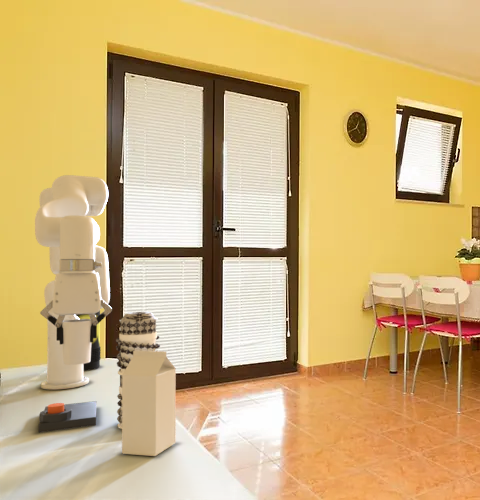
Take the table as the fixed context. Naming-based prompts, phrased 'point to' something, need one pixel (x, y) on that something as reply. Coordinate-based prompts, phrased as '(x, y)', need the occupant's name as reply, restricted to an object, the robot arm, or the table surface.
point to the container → (93, 346)
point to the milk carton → (148, 404)
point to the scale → (69, 417)
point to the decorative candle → (134, 343)
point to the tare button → (55, 408)
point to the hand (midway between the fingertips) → (76, 341)
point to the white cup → (76, 341)
